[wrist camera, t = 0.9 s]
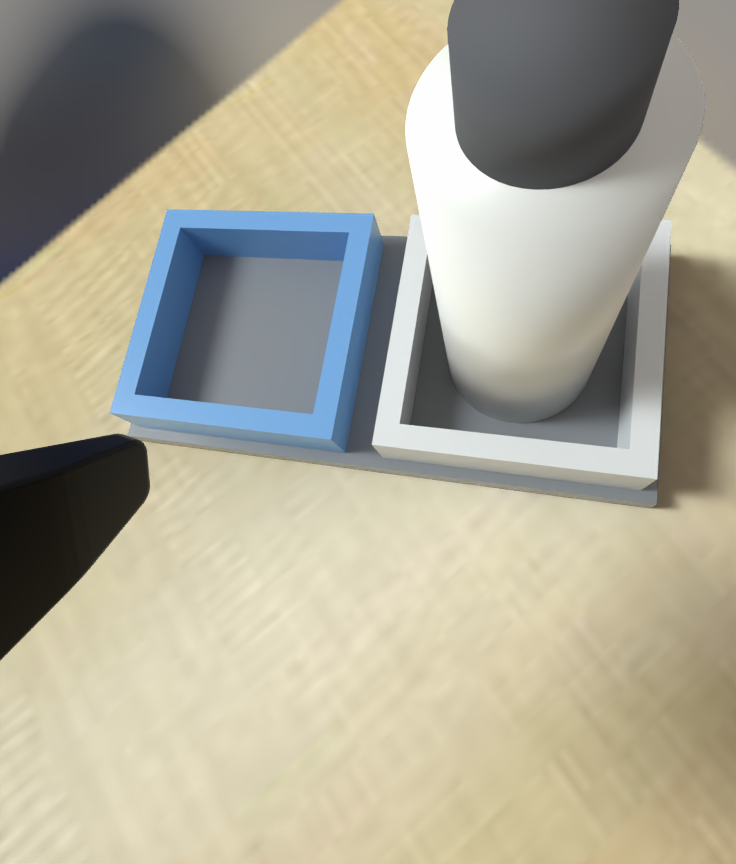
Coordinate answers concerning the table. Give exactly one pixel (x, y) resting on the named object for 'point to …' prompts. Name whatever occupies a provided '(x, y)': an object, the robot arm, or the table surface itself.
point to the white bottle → (545, 184)
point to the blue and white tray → (369, 361)
